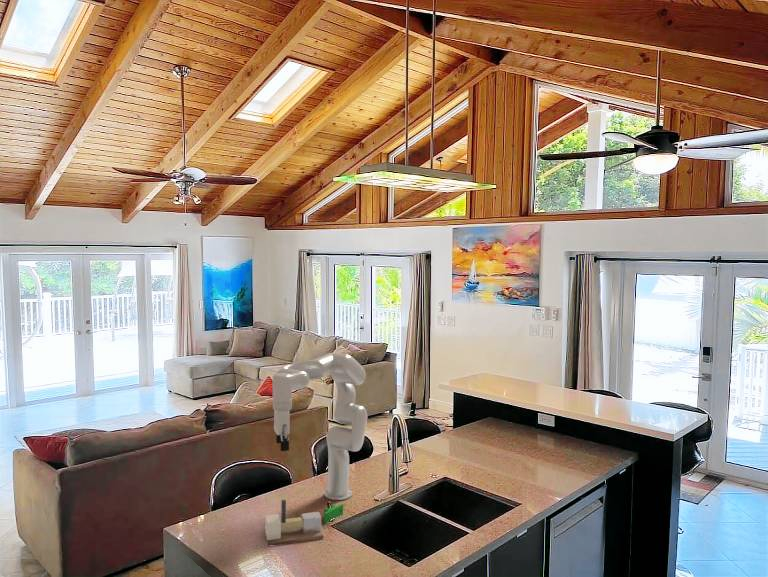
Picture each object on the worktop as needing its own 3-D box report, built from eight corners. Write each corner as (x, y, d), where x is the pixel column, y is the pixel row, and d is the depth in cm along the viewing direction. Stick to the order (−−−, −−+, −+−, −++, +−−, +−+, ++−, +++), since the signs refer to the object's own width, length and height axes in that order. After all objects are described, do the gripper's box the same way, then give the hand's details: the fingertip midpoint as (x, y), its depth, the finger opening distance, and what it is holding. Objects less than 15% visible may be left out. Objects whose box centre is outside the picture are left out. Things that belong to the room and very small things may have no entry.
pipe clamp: (336, 512, 247) (336, 502, 247) (343, 515, 245) (343, 504, 245) (319, 521, 238) (319, 510, 238) (326, 524, 236) (326, 513, 236)
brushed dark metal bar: (272, 528, 224) (272, 500, 224) (305, 524, 228) (305, 496, 228) (273, 532, 221) (273, 503, 221) (306, 527, 225) (307, 499, 225)
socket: (265, 531, 225) (265, 515, 225) (277, 530, 227) (278, 514, 227) (267, 540, 219) (267, 523, 218) (280, 538, 220) (280, 521, 220)
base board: (264, 532, 228) (264, 529, 228) (316, 525, 234) (316, 522, 234) (268, 546, 216) (268, 543, 216) (323, 538, 223) (323, 535, 223)
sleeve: (301, 528, 229) (301, 513, 228) (318, 526, 231) (318, 511, 231) (303, 533, 224) (303, 519, 224) (321, 531, 226) (321, 516, 226)
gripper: (269, 399, 236) (269, 440, 237) (276, 411, 220) (276, 455, 221) (287, 398, 239) (288, 439, 240) (295, 409, 222) (296, 452, 224)
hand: (282, 446), depth 230 cm, fingers open, 9 cm apart
